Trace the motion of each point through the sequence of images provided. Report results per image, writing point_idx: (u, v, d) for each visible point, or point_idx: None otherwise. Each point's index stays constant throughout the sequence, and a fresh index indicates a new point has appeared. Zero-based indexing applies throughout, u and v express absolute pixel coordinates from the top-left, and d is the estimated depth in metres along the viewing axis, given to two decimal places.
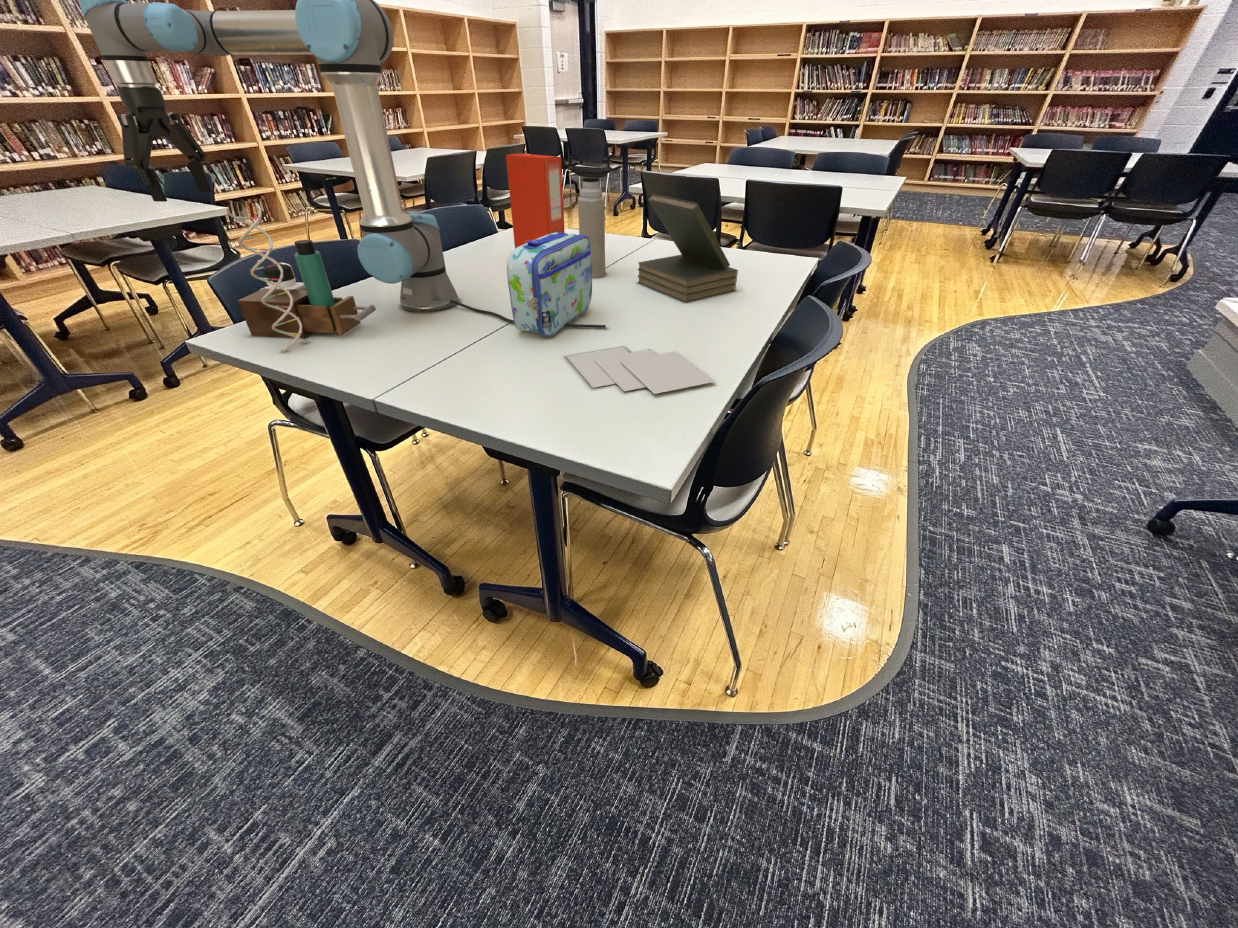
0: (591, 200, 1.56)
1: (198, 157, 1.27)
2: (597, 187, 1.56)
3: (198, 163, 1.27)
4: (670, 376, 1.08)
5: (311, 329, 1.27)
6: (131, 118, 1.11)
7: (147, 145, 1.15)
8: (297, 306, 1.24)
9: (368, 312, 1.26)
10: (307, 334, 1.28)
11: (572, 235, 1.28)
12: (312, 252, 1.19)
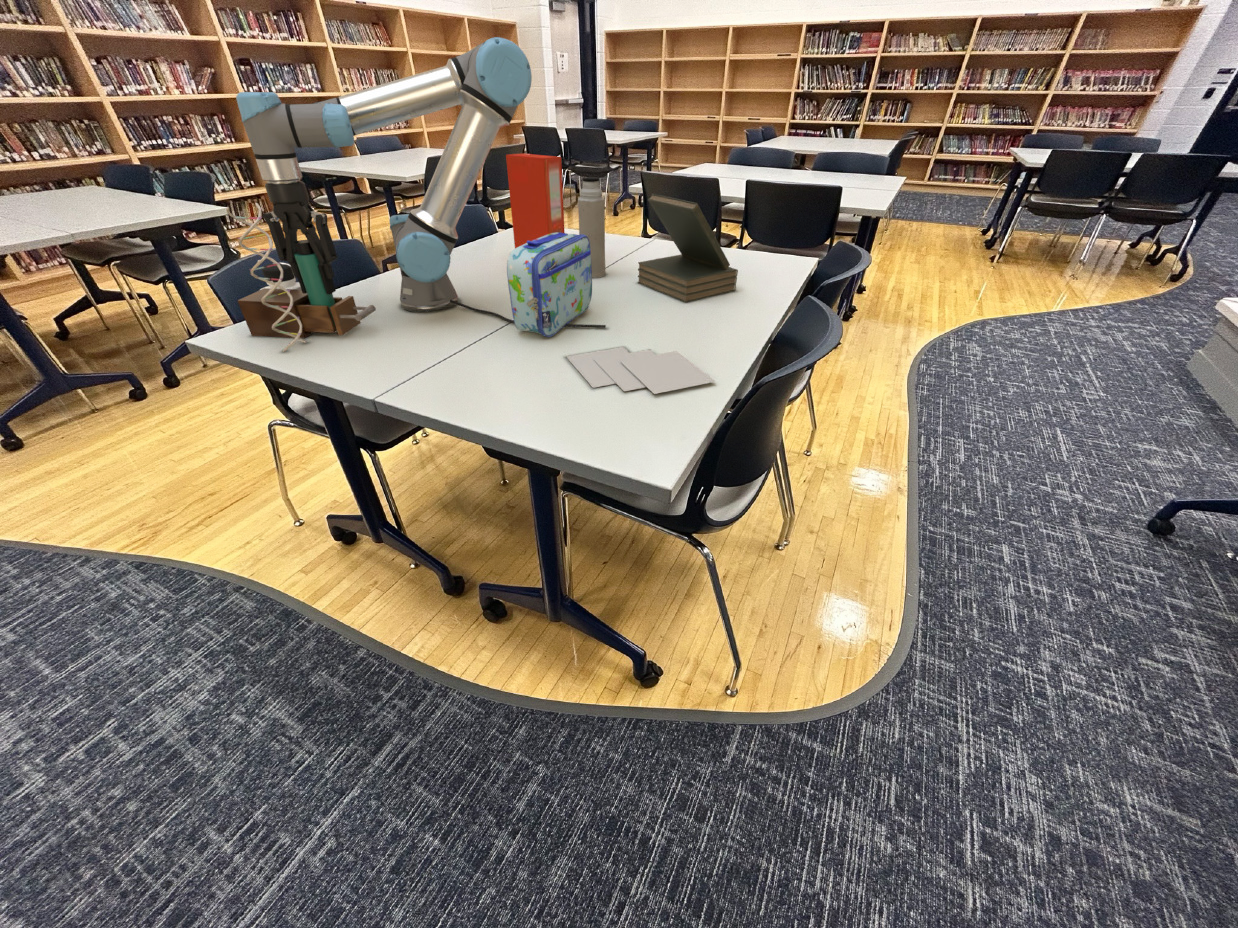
0: (591, 200, 1.56)
1: (321, 260, 1.19)
2: (597, 187, 1.56)
3: (319, 266, 1.20)
4: (670, 376, 1.08)
5: (311, 329, 1.27)
6: (265, 217, 1.15)
7: (286, 241, 1.17)
8: (297, 306, 1.24)
9: (368, 312, 1.26)
10: (307, 334, 1.28)
11: (572, 235, 1.28)
12: (312, 252, 1.19)
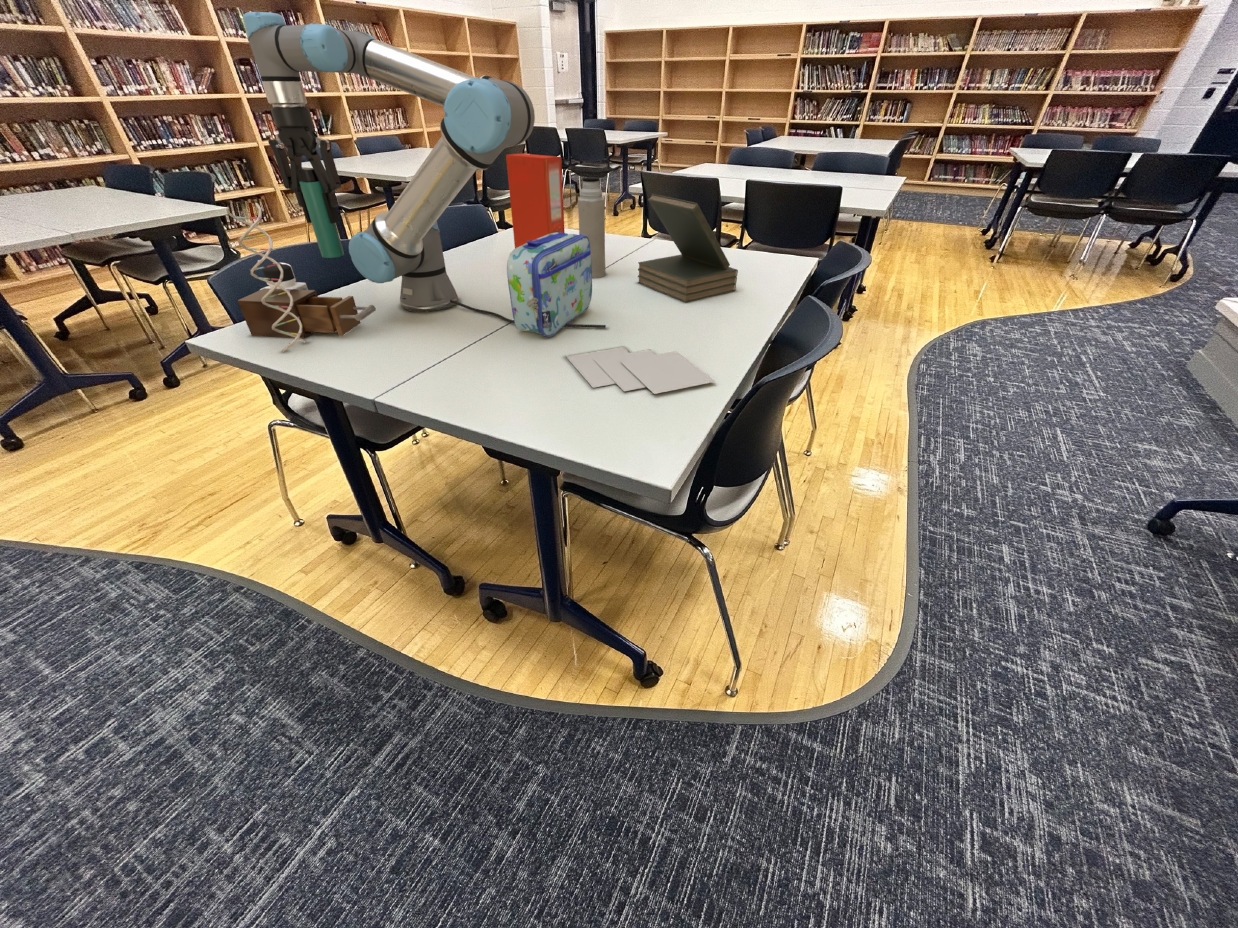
0: (591, 200, 1.56)
1: (325, 188, 1.22)
2: (597, 187, 1.56)
3: (323, 194, 1.23)
4: (670, 376, 1.08)
5: (311, 329, 1.27)
6: (270, 143, 1.18)
7: (291, 168, 1.21)
8: (297, 306, 1.24)
9: (368, 312, 1.26)
10: (307, 334, 1.28)
11: (572, 235, 1.28)
12: (316, 180, 1.22)
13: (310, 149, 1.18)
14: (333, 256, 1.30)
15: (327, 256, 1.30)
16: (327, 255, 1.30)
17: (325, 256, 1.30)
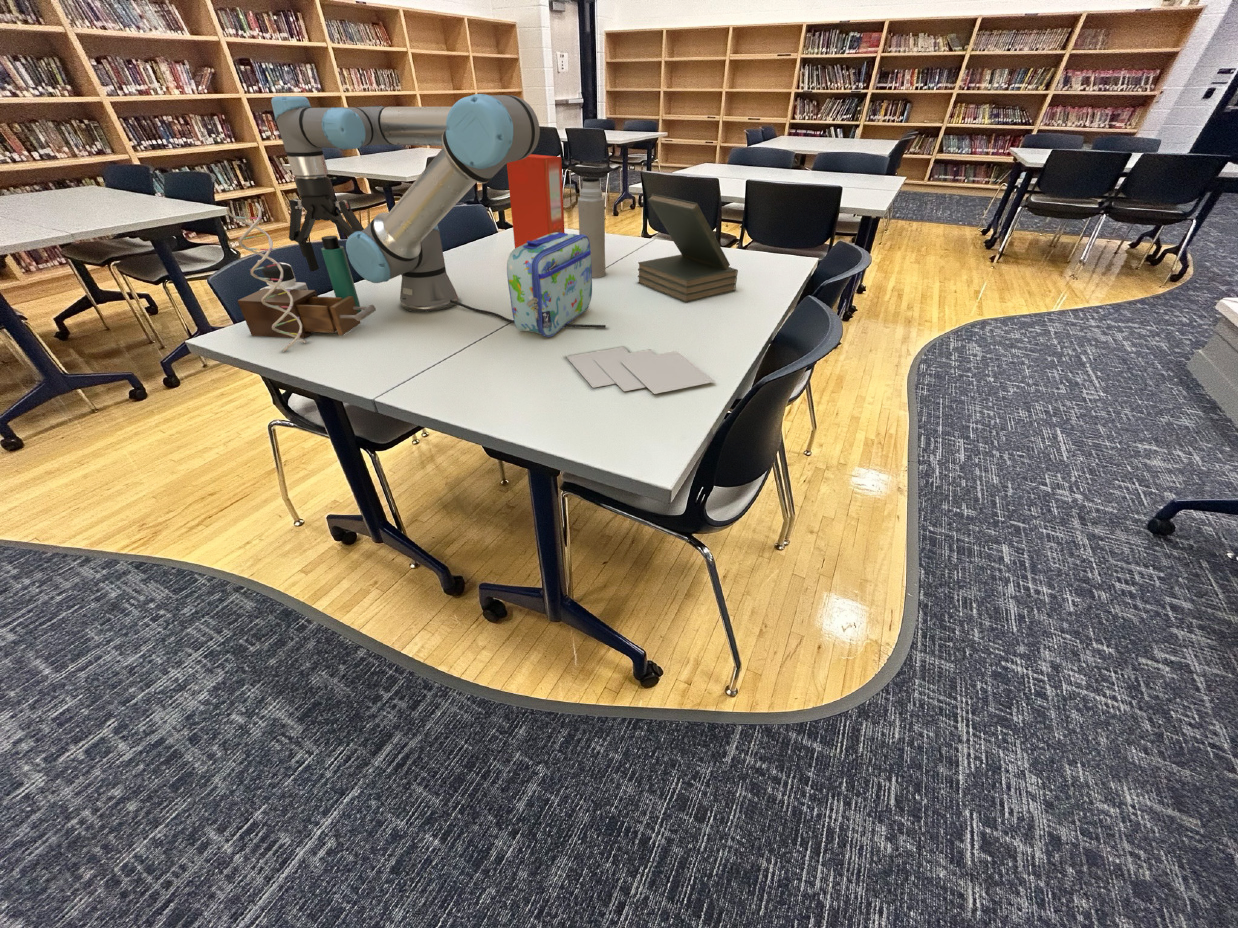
0: (591, 200, 1.56)
1: None
2: (597, 187, 1.56)
3: None
4: (670, 376, 1.08)
5: (311, 329, 1.27)
6: (291, 203, 1.26)
7: (303, 225, 1.29)
8: (297, 306, 1.24)
9: (368, 312, 1.26)
10: (307, 334, 1.28)
11: (572, 235, 1.28)
12: (337, 247, 1.32)
13: None
14: None
15: None
16: None
17: None
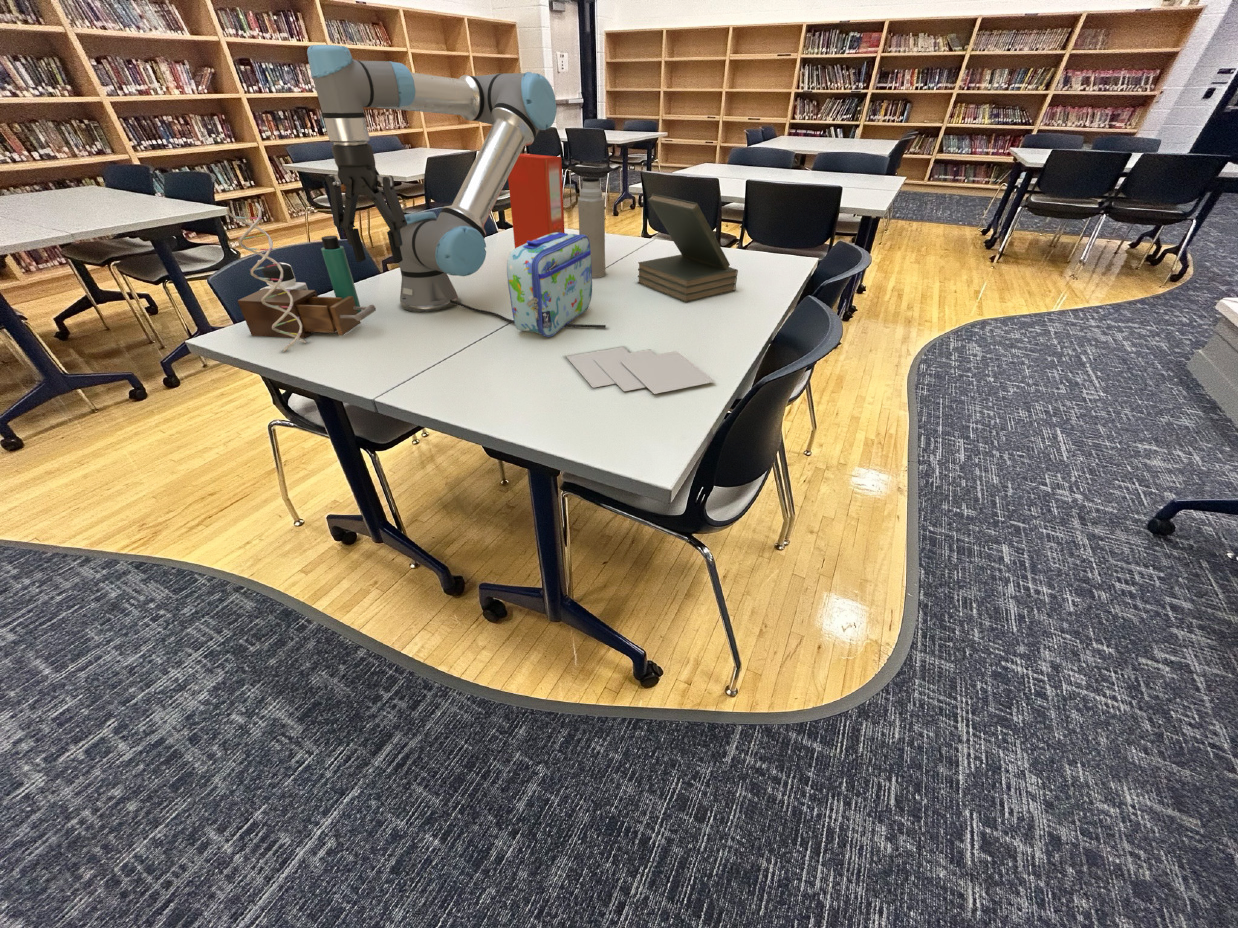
0: (591, 200, 1.56)
1: (391, 227, 1.13)
2: (597, 187, 1.56)
3: (388, 233, 1.14)
4: (670, 376, 1.08)
5: (311, 329, 1.27)
6: (327, 179, 1.09)
7: (346, 206, 1.12)
8: (297, 306, 1.24)
9: (368, 312, 1.26)
10: (307, 334, 1.28)
11: (572, 235, 1.28)
12: (337, 247, 1.32)
13: (371, 188, 1.10)
14: None
15: None
16: None
17: None
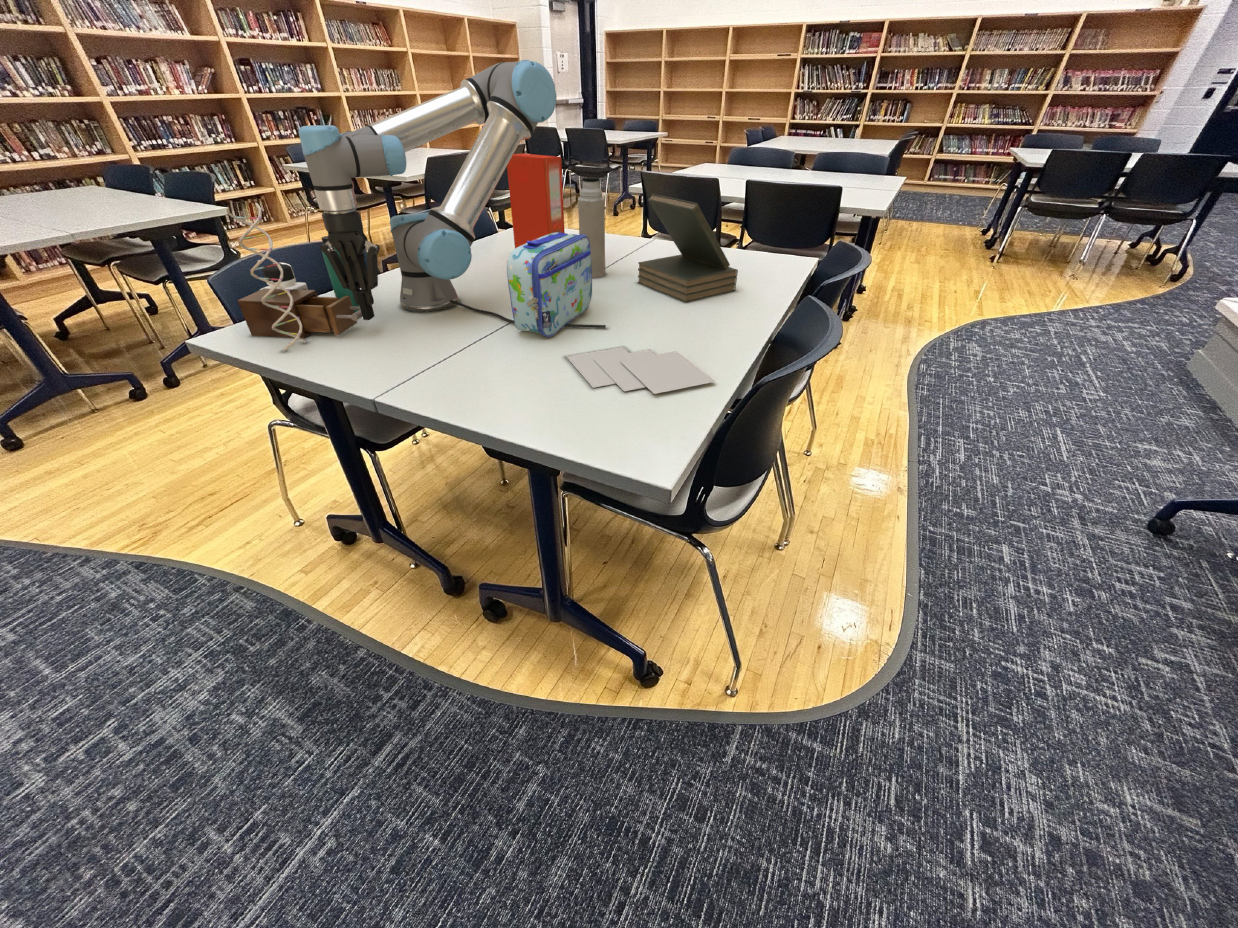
0: (591, 200, 1.56)
1: (363, 288, 1.22)
2: (597, 187, 1.56)
3: (360, 293, 1.22)
4: (670, 376, 1.08)
5: (307, 329, 1.27)
6: (322, 249, 1.17)
7: (346, 269, 1.20)
8: None
9: None
10: (307, 334, 1.28)
11: (572, 235, 1.28)
12: None
13: (359, 251, 1.17)
14: None
15: None
16: None
17: None
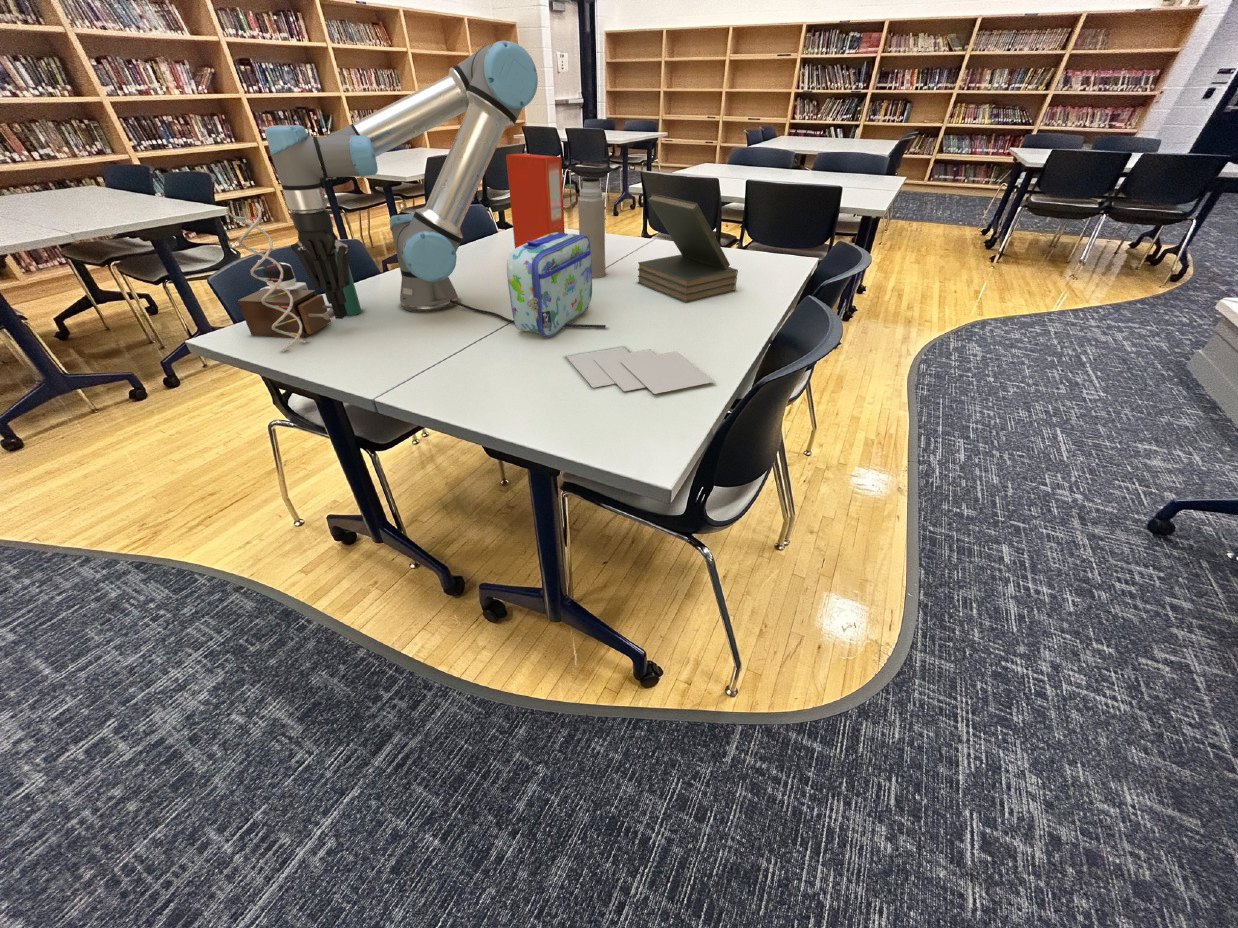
0: (591, 200, 1.56)
1: (334, 287, 1.22)
2: (597, 187, 1.56)
3: (331, 292, 1.23)
4: (670, 376, 1.08)
5: None
6: (292, 248, 1.18)
7: (317, 268, 1.20)
8: None
9: None
10: (307, 334, 1.28)
11: (572, 235, 1.28)
12: None
13: (329, 250, 1.18)
14: (351, 314, 1.40)
15: None
16: None
17: None
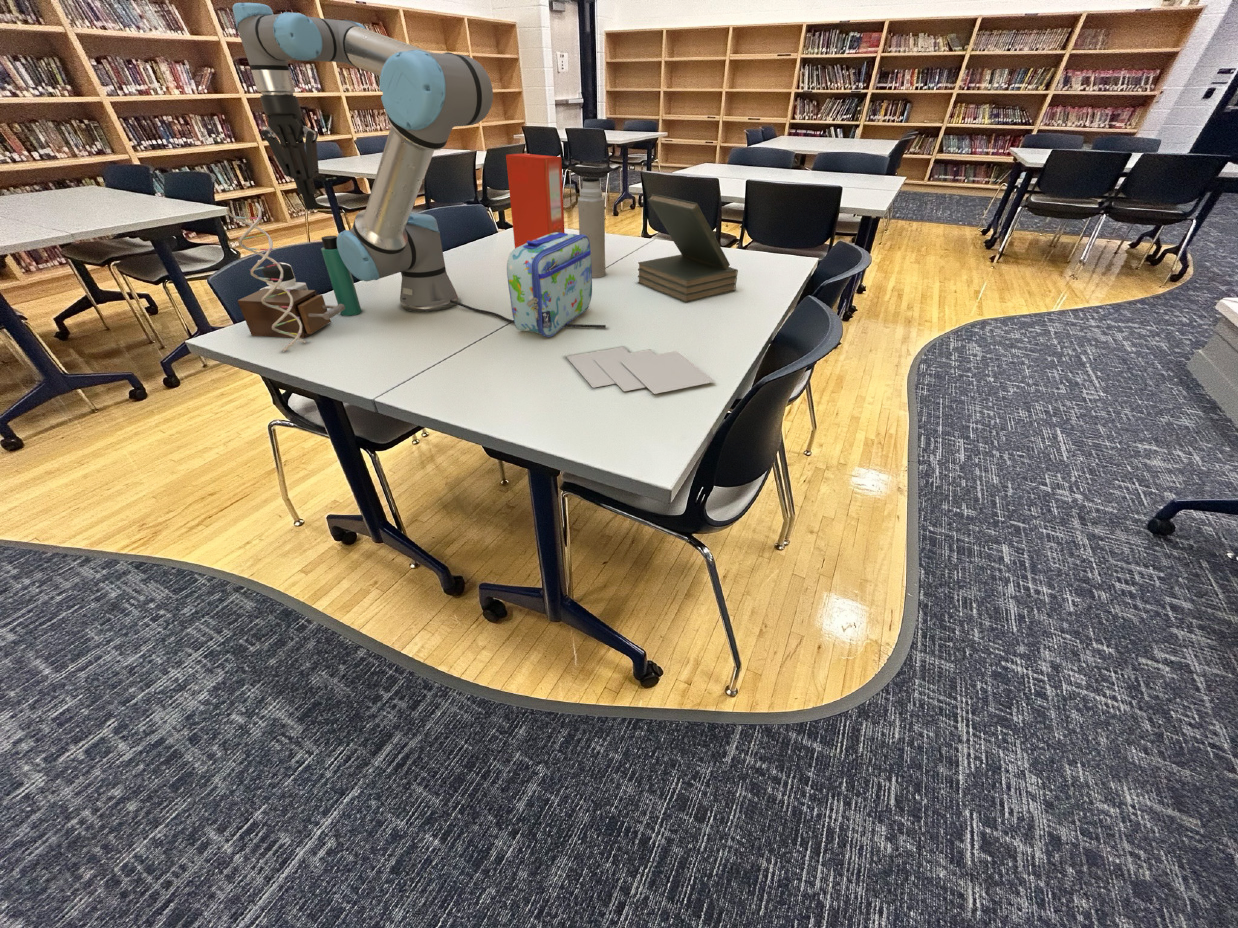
0: (591, 200, 1.56)
1: (304, 175, 1.27)
2: (597, 187, 1.56)
3: (301, 181, 1.28)
4: (670, 376, 1.08)
5: None
6: (263, 134, 1.23)
7: (286, 155, 1.25)
8: None
9: (337, 311, 1.27)
10: (307, 334, 1.28)
11: (572, 235, 1.28)
12: None
13: (298, 136, 1.23)
14: (351, 314, 1.40)
15: (346, 314, 1.39)
16: (346, 313, 1.39)
17: (344, 314, 1.39)
